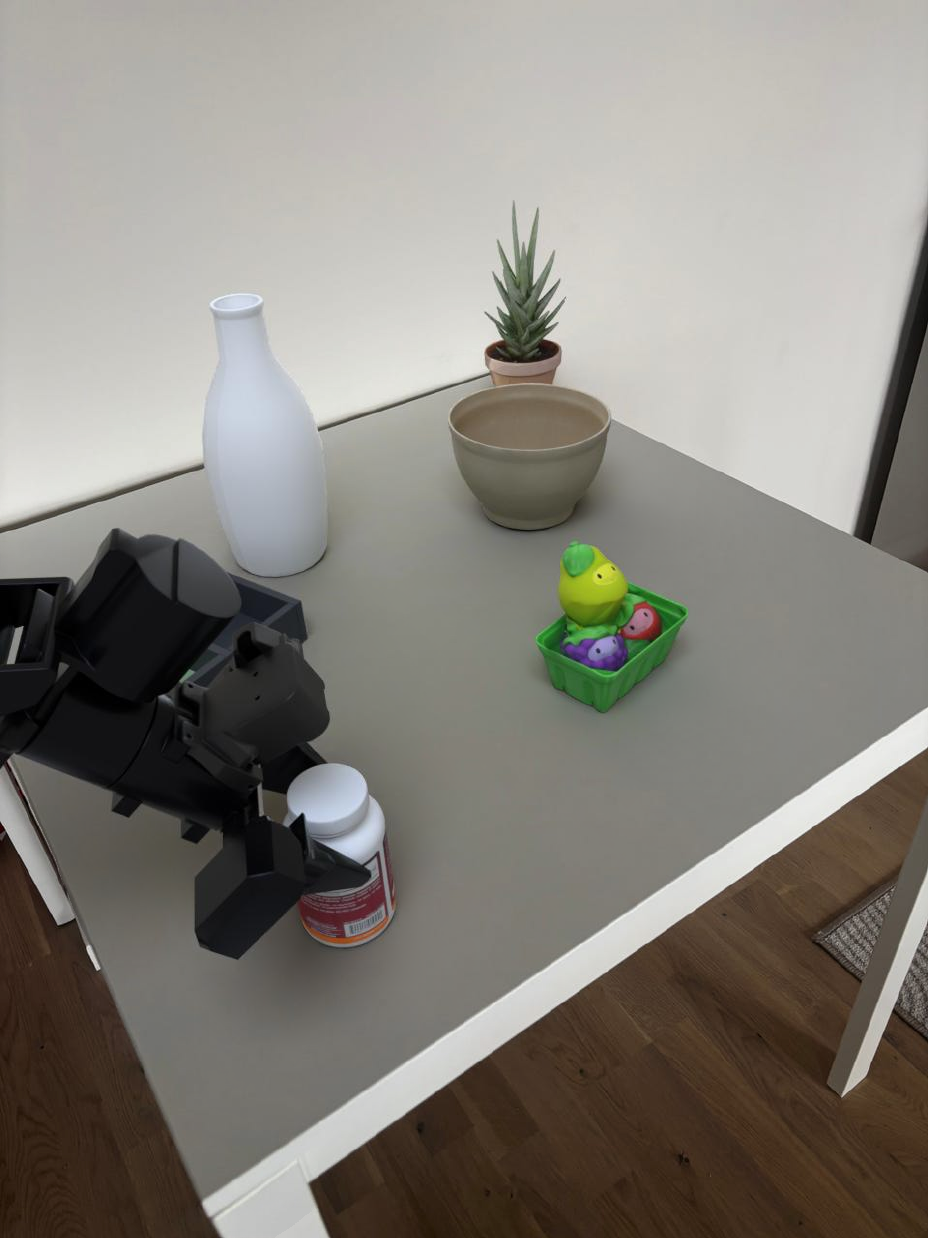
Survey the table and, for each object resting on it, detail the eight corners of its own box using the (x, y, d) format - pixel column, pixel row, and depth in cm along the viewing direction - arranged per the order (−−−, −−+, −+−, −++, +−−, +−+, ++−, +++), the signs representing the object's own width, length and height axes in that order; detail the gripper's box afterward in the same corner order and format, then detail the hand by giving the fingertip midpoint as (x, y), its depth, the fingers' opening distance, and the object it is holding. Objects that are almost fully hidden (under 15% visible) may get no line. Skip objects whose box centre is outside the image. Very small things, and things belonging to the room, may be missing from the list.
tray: (158, 757, 74) (146, 717, 72) (82, 716, 79) (67, 677, 76) (308, 638, 86) (301, 600, 83) (233, 608, 90) (225, 571, 88)
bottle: (348, 570, 94) (314, 311, 79) (234, 595, 92) (176, 332, 77) (323, 516, 103) (288, 273, 88) (218, 538, 100) (163, 291, 85)
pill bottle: (326, 862, 66) (303, 743, 59) (411, 884, 64) (397, 764, 57) (283, 937, 61) (253, 817, 54) (373, 963, 59) (354, 842, 53)
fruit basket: (606, 729, 75) (614, 611, 68) (519, 682, 80) (518, 567, 73) (687, 659, 81) (701, 544, 75) (601, 618, 86) (608, 508, 80)
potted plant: (531, 383, 129) (532, 185, 115) (575, 407, 123) (581, 200, 108) (468, 402, 125) (460, 199, 111) (510, 428, 119) (507, 216, 104)
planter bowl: (624, 539, 97) (631, 439, 91) (465, 558, 95) (461, 458, 89) (584, 466, 110) (587, 374, 103) (443, 481, 108) (438, 389, 102)
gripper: (220, 761, 40) (485, 878, 49) (214, 536, 55) (418, 655, 63) (77, 918, 44) (346, 1003, 52) (107, 666, 59) (313, 764, 67)
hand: (359, 838), depth 59 cm, fingers closed on pill bottle, 6 cm apart
